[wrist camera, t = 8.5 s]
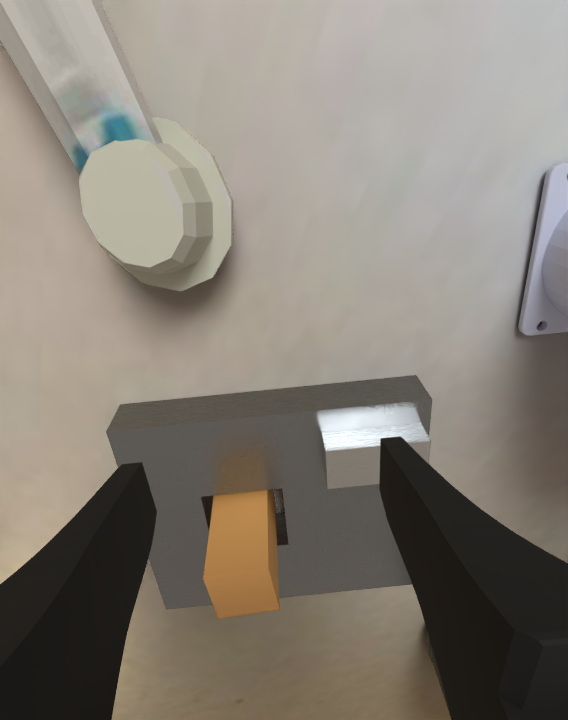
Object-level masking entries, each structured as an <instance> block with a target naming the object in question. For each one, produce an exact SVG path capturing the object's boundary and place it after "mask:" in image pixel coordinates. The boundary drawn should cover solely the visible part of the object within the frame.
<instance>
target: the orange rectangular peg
mask: <svg viewBox="0 0 568 720" xmlns="http://www.w3.org/2000/svg"><path fill="white" fill-rule="evenodd" d="M203 580H204V583H205V585H206V588H207V590H208V593H209V596H210V598H211V601H212V603H213V606H214V609H215V611H216V614H217V616H218V619H220V618H226V617H233V616H240V615H246V614H253V613H260V612H266V611H273V610H280V608H279V583H278V559H277V535H276V510H275V498H274V494H273V490H262V491H252V492H242V493H233V494H223V495H214V498H213V506H212V514H211V521H210V529H209V537H208V545H207V552H206V560H205V568H204V576H203Z"/></svg>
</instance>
